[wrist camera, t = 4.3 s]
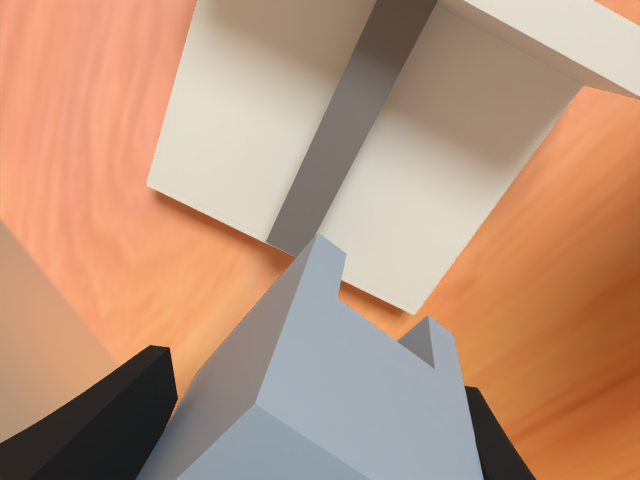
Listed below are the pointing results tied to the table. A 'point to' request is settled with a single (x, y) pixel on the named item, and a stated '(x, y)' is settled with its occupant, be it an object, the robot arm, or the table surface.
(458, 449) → the block
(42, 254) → the table surface
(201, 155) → the board
